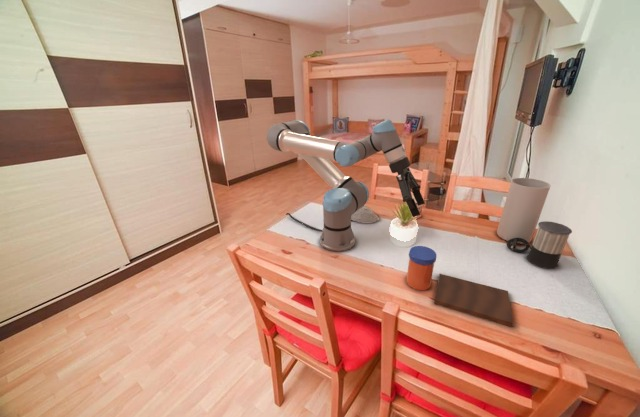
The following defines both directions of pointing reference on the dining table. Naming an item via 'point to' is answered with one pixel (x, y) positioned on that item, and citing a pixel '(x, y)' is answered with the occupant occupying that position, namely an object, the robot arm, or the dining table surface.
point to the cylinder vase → (522, 208)
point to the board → (474, 299)
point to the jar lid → (422, 255)
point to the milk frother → (544, 244)
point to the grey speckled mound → (364, 215)
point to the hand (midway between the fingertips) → (419, 209)
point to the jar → (419, 275)
